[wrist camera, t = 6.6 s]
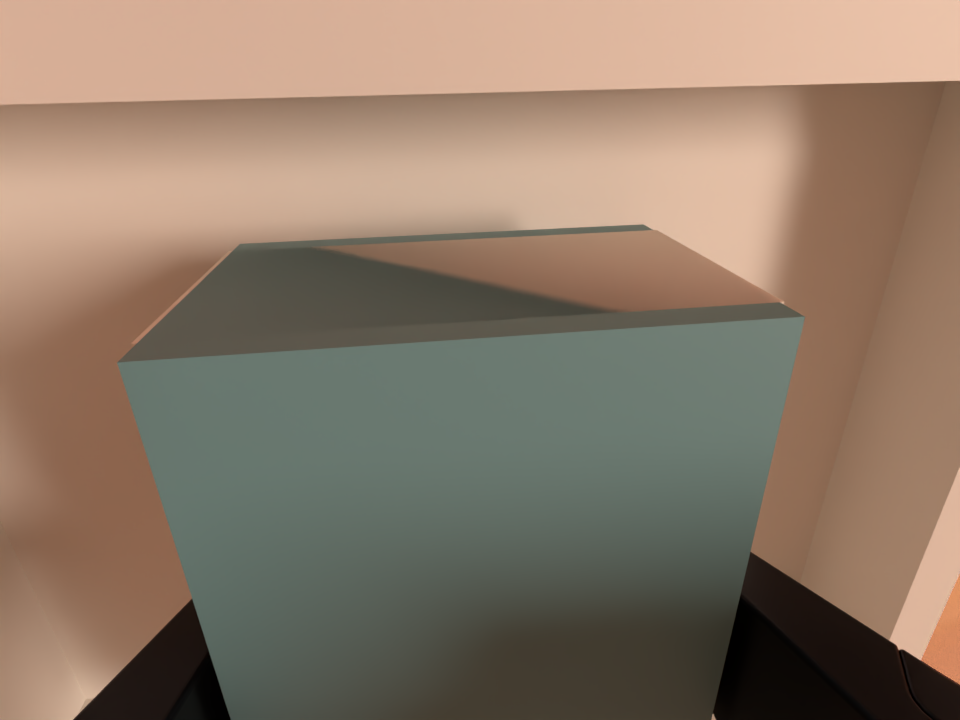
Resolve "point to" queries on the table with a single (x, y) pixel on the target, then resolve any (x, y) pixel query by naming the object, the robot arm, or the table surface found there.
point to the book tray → (467, 209)
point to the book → (465, 470)
